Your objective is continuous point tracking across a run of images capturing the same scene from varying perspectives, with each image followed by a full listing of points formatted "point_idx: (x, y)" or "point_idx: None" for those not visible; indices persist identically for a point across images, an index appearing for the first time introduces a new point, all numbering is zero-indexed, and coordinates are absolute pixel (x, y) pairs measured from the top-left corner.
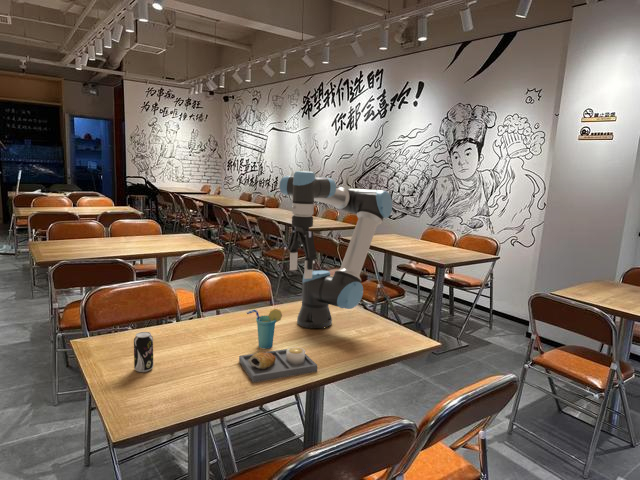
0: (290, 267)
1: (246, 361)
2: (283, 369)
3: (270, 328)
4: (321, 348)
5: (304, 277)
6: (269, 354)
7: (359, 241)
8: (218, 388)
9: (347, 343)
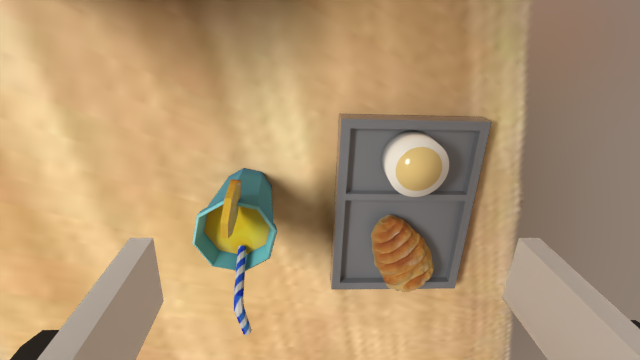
0: (152, 322)
1: (355, 273)
2: (462, 217)
3: (272, 218)
4: (335, 14)
5: (511, 303)
6: (394, 240)
7: None
8: (434, 336)
9: None
